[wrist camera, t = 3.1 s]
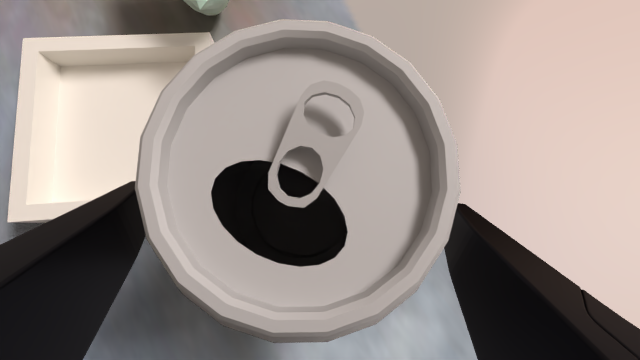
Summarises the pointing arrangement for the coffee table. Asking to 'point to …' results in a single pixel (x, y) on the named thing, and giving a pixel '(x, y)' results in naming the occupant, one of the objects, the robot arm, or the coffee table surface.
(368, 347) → the coffee table surface
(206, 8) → the green oval piece
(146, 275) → the coffee table surface
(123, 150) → the tray
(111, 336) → the coffee table surface
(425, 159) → the can
